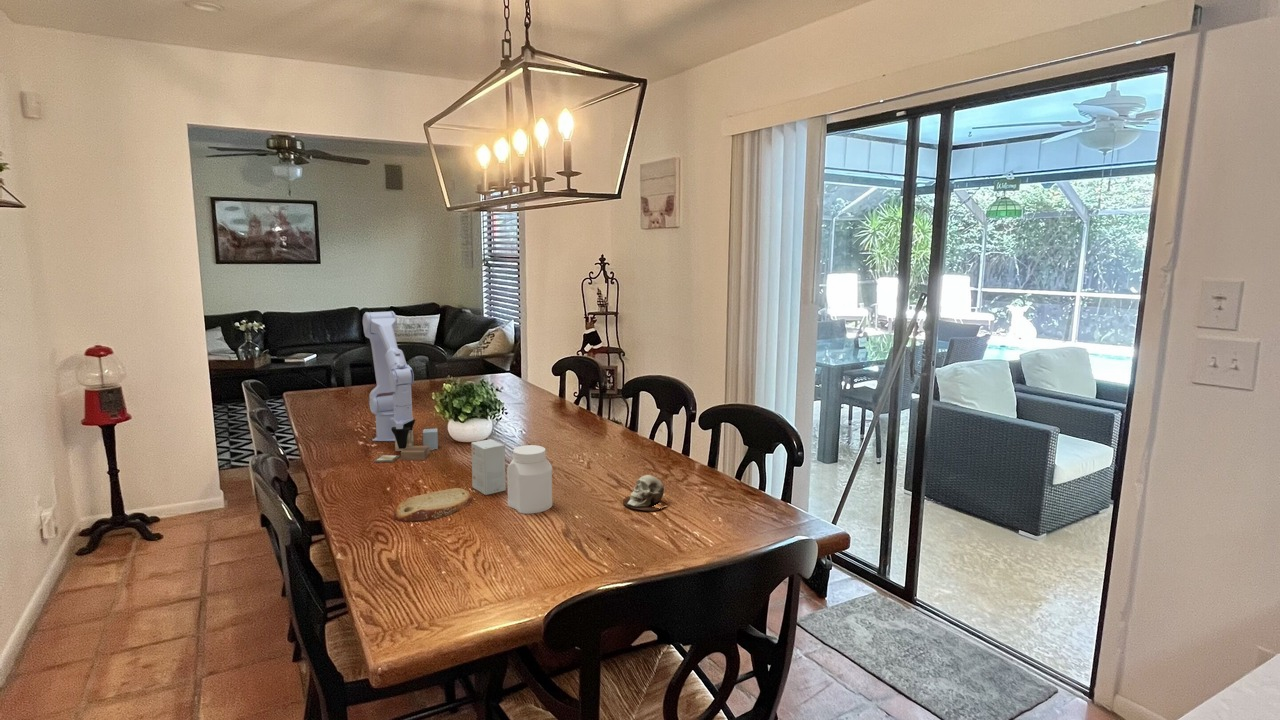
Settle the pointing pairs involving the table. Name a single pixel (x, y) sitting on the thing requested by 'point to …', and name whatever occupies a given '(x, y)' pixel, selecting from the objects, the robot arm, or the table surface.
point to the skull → (645, 494)
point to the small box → (488, 466)
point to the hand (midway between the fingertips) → (404, 445)
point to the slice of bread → (432, 505)
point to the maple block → (409, 441)
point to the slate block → (430, 438)
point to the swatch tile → (387, 458)
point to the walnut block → (415, 452)
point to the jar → (529, 480)
